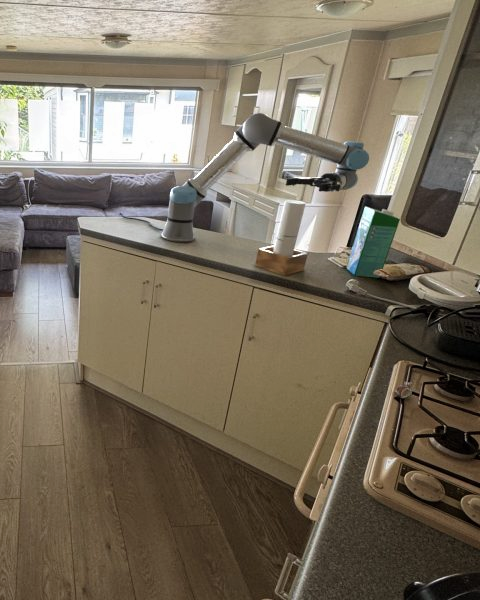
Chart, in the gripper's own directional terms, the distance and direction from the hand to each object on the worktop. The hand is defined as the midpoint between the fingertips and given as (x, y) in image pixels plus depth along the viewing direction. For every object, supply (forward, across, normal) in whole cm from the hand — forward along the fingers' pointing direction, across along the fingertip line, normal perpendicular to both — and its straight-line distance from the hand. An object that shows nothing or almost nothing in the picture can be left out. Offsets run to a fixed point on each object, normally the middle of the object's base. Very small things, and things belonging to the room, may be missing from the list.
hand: (303, 184), depth 167 cm
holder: (+11, -5, -31) cm, 33 cm away
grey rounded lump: (+66, -69, -31) cm, 100 cm away
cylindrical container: (+11, -5, -30) cm, 32 cm away
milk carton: (-14, -25, -31) cm, 42 cm away
